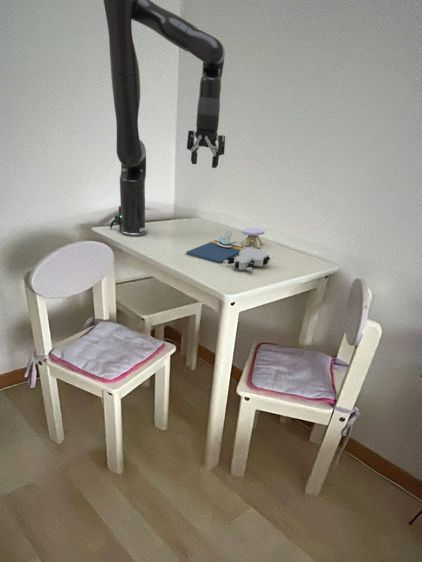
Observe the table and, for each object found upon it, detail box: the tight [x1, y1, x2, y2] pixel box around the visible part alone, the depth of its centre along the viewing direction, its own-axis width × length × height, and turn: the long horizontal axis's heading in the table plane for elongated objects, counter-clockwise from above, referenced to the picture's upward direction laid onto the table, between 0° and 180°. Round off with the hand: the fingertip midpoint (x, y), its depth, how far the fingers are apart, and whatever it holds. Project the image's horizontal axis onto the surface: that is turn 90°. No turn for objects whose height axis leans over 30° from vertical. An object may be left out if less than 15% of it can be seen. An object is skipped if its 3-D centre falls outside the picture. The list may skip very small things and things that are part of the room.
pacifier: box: [217, 227, 237, 248], centre depth 158 cm, size 7×6×6 cm
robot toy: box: [222, 246, 275, 272], centre depth 144 cm, size 12×4×15 cm
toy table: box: [241, 227, 266, 249], centre depth 166 cm, size 10×9×6 cm
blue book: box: [186, 240, 245, 264], centre depth 156 cm, size 14×20×1 cm
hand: (204, 165), depth 153 cm, fingers open, 8 cm apart
